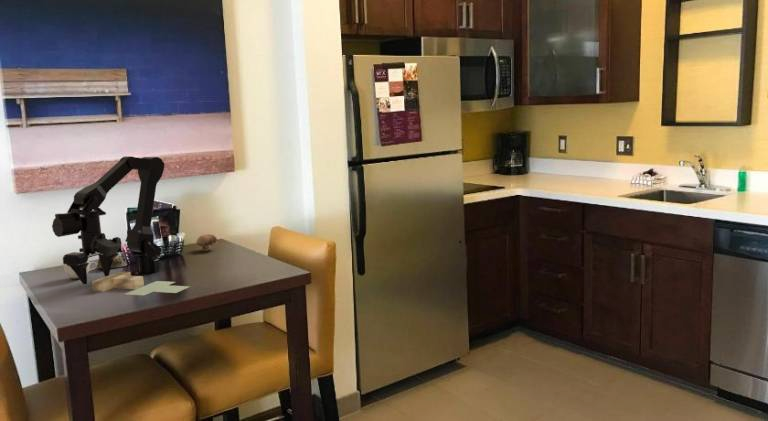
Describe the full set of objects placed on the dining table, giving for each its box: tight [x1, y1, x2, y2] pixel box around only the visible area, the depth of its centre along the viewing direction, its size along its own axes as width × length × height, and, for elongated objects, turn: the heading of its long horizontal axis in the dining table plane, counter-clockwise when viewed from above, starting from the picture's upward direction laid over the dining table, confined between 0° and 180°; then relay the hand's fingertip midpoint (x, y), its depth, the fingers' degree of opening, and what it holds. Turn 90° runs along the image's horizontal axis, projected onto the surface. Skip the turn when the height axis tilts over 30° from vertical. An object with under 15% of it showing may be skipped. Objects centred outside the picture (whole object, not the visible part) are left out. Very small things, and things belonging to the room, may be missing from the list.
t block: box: [91, 271, 145, 293], centre depth 190 cm, size 12×12×3 cm
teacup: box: [62, 258, 98, 279], centre depth 205 cm, size 10×8×5 cm
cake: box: [96, 254, 128, 269], centre depth 218 cm, size 10×10×5 cm
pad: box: [124, 280, 191, 296], centre depth 186 cm, size 15×15×1 cm
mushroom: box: [196, 233, 218, 252], centre depth 240 cm, size 8×8×6 cm
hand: (96, 280), depth 193 cm, fingers open, 9 cm apart
